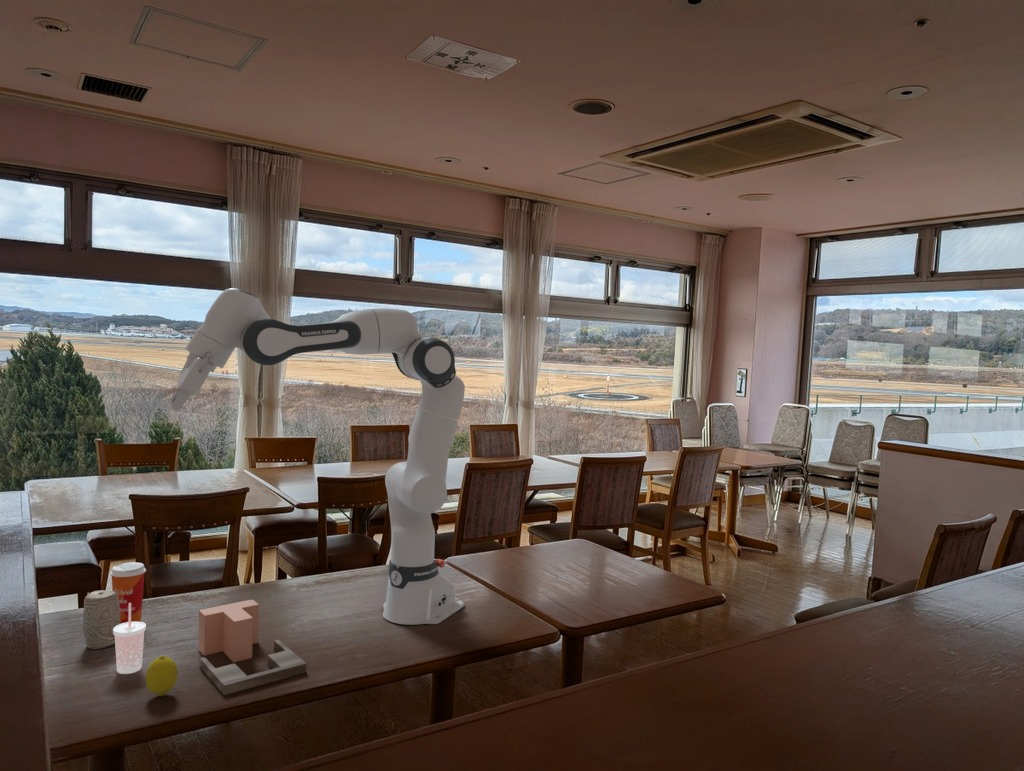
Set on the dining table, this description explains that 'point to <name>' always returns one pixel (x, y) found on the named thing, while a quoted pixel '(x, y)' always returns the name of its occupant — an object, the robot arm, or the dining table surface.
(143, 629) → the beverage cup
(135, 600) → the paper cup
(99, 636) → the carving
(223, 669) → the t dock
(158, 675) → the lemon
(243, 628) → the t block
